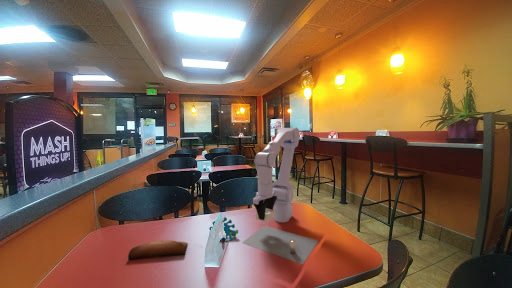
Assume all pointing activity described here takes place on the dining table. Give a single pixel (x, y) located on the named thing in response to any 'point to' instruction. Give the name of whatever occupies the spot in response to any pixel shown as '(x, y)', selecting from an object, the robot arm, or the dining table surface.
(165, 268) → the dining table surface
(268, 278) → the dining table surface
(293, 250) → the piston
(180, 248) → the sunglasses case
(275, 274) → the dining table surface
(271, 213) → the ring
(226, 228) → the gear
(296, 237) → the board
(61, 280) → the dining table surface
